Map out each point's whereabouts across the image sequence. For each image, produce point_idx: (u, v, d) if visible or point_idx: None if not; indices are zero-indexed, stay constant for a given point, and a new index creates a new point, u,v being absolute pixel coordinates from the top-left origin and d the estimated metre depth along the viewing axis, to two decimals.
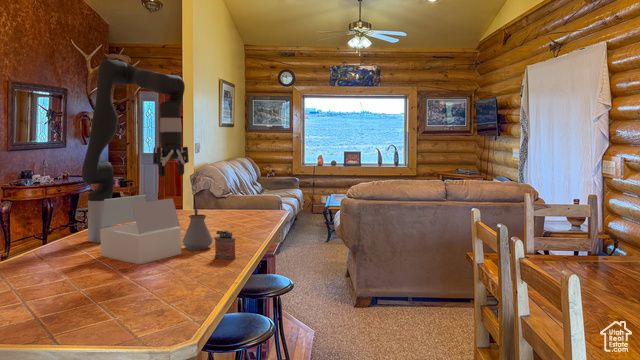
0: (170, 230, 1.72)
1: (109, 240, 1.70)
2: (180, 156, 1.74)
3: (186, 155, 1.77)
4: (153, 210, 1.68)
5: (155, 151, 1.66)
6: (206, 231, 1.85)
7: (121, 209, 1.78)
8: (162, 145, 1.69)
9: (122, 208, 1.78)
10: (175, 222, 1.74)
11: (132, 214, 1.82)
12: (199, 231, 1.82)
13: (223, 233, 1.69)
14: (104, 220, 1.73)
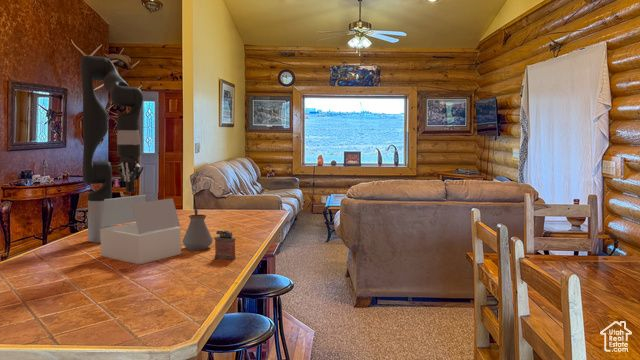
0: (170, 230, 1.72)
1: (109, 240, 1.70)
2: None
3: None
4: (153, 210, 1.68)
5: (139, 171, 1.67)
6: (206, 231, 1.85)
7: (121, 209, 1.78)
8: (135, 158, 1.67)
9: (122, 208, 1.78)
10: (175, 222, 1.74)
11: (132, 214, 1.82)
12: (199, 231, 1.82)
13: (223, 233, 1.69)
14: (104, 220, 1.73)
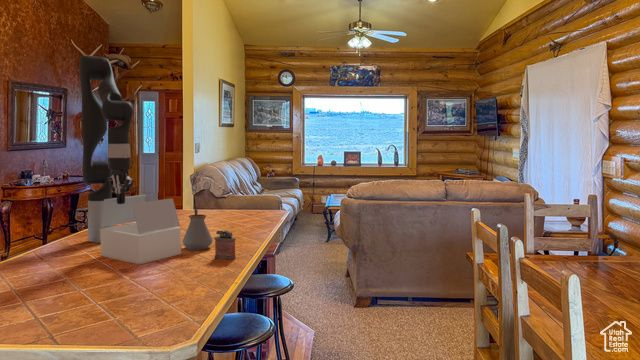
0: (170, 230, 1.72)
1: (109, 240, 1.70)
2: None
3: None
4: (153, 210, 1.68)
5: (129, 183, 1.70)
6: (206, 231, 1.85)
7: (121, 209, 1.78)
8: (125, 171, 1.71)
9: (122, 208, 1.78)
10: (175, 222, 1.74)
11: (132, 214, 1.82)
12: (199, 231, 1.82)
13: (223, 233, 1.69)
14: (104, 220, 1.73)
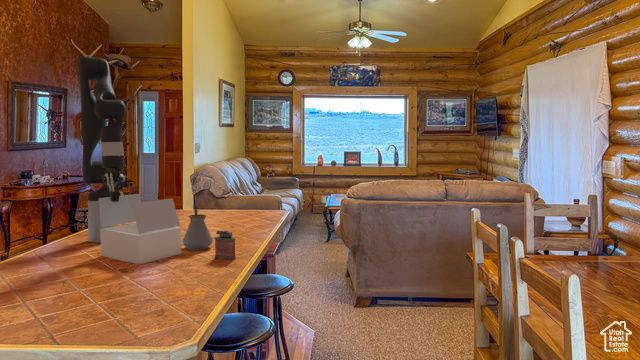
0: (170, 230, 1.72)
1: (109, 240, 1.70)
2: None
3: None
4: (153, 210, 1.68)
5: (123, 181, 1.72)
6: (206, 231, 1.85)
7: (118, 208, 1.79)
8: (119, 168, 1.73)
9: (119, 207, 1.79)
10: (175, 222, 1.74)
11: (130, 214, 1.83)
12: (199, 231, 1.82)
13: (223, 233, 1.69)
14: (103, 220, 1.73)
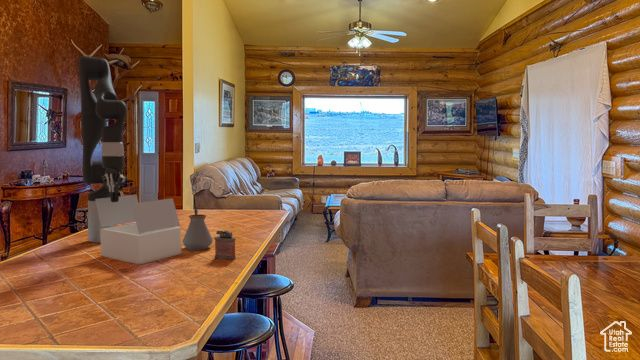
0: (170, 230, 1.72)
1: (109, 240, 1.70)
2: None
3: None
4: (153, 210, 1.68)
5: (122, 181, 1.72)
6: (206, 231, 1.85)
7: (116, 208, 1.79)
8: (119, 169, 1.72)
9: (117, 207, 1.80)
10: (175, 222, 1.74)
11: (129, 214, 1.83)
12: (199, 231, 1.82)
13: (223, 233, 1.69)
14: (102, 220, 1.74)
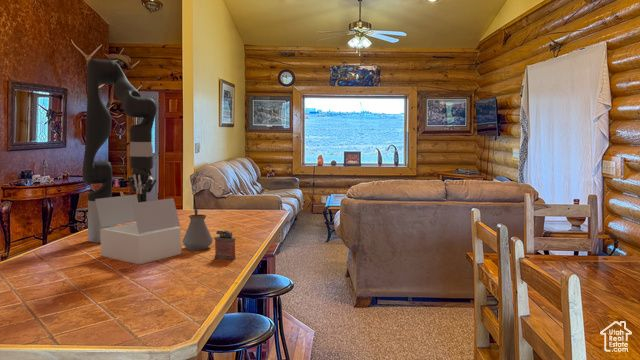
0: (170, 230, 1.72)
1: (109, 240, 1.70)
2: None
3: None
4: (154, 210, 1.68)
5: (151, 183, 1.63)
6: (206, 231, 1.85)
7: (116, 208, 1.79)
8: (148, 170, 1.64)
9: (117, 207, 1.80)
10: (176, 222, 1.74)
11: (129, 214, 1.83)
12: (199, 231, 1.82)
13: (223, 233, 1.69)
14: (102, 220, 1.74)
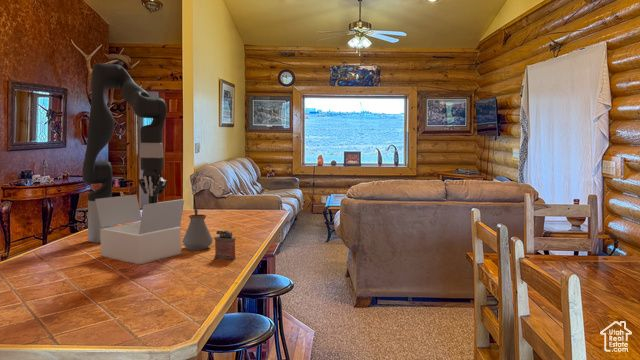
0: (170, 230, 1.72)
1: (109, 240, 1.70)
2: None
3: None
4: (161, 211, 1.66)
5: (162, 185, 1.60)
6: (206, 231, 1.85)
7: (116, 208, 1.79)
8: (159, 171, 1.61)
9: (117, 207, 1.80)
10: (177, 223, 1.74)
11: (129, 214, 1.83)
12: (199, 231, 1.82)
13: (223, 233, 1.69)
14: (102, 220, 1.74)
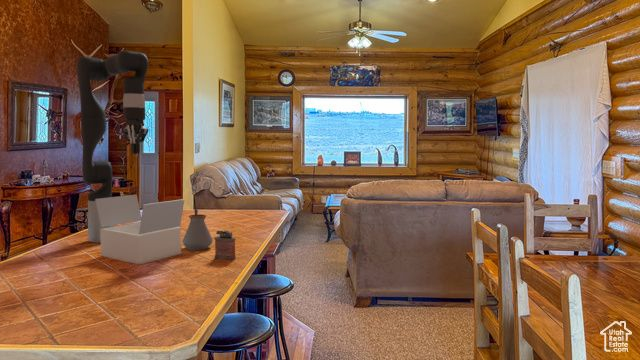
0: (170, 230, 1.72)
1: (109, 240, 1.70)
2: None
3: None
4: (161, 211, 1.66)
5: (144, 133, 1.73)
6: (206, 231, 1.85)
7: (116, 208, 1.79)
8: (140, 120, 1.74)
9: (117, 207, 1.80)
10: (177, 223, 1.74)
11: (129, 214, 1.83)
12: (199, 231, 1.82)
13: (223, 233, 1.69)
14: (102, 220, 1.74)
